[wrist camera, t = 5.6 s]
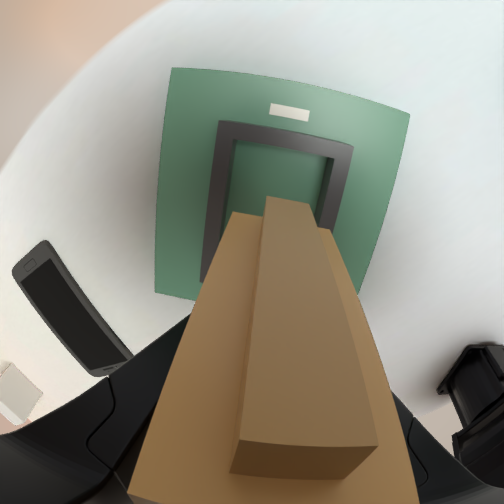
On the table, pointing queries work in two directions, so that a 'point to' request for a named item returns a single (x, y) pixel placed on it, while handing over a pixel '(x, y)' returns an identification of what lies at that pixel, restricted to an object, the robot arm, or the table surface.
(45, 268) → the cell phone
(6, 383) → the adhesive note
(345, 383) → the plug
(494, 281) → the table surface
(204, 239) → the board
